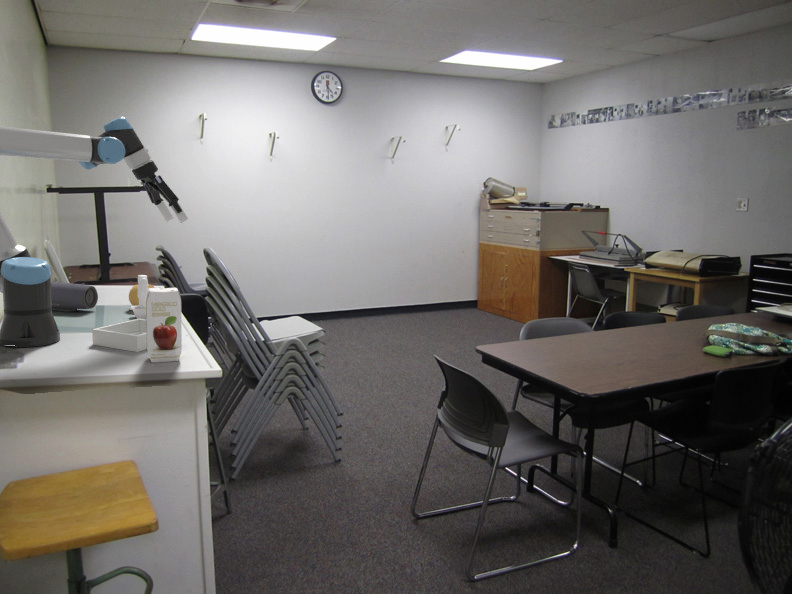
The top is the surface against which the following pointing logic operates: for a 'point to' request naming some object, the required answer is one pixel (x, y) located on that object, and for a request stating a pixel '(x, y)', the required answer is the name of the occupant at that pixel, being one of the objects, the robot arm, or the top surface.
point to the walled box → (122, 335)
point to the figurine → (141, 297)
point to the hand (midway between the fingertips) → (177, 220)
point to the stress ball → (135, 295)
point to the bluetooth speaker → (72, 296)
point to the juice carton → (163, 324)
